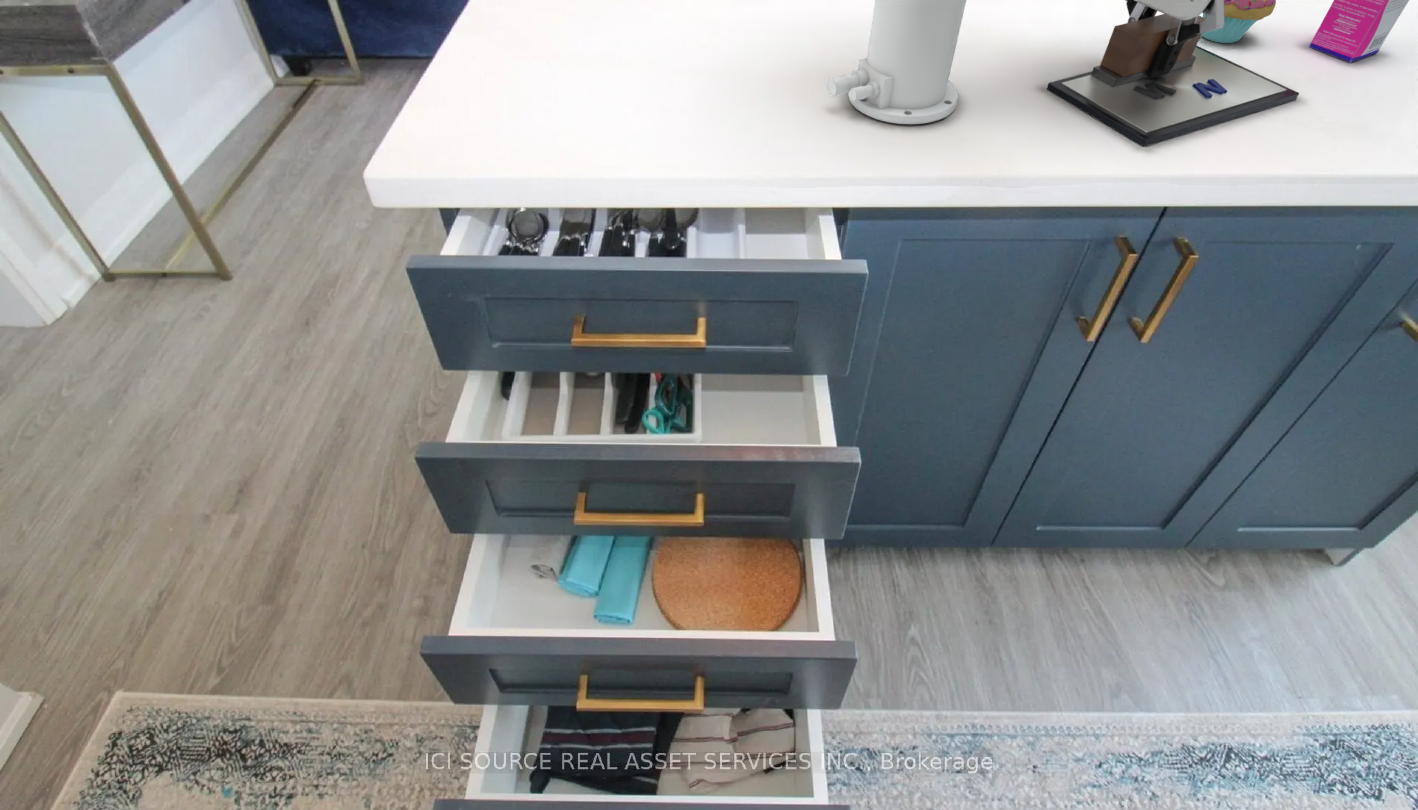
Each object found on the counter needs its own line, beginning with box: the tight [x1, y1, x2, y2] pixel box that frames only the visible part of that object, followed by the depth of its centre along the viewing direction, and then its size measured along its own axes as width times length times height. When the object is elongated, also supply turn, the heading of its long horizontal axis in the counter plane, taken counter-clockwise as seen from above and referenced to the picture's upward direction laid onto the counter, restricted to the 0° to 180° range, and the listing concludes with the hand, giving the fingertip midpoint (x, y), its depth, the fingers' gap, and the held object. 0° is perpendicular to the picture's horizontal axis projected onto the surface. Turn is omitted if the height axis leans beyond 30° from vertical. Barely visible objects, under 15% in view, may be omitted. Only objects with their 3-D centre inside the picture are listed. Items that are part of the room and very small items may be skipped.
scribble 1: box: [1133, 82, 1177, 99], centre depth 87 cm, size 4×3×1 cm
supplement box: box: [1309, 0, 1410, 64], centre depth 92 cm, size 6×6×12 cm
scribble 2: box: [1193, 79, 1227, 98], centre depth 87 cm, size 4×3×1 cm
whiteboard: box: [1046, 45, 1300, 147], centre depth 89 cm, size 24×15×1 cm, turn 115°
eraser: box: [1091, 13, 1205, 87], centre depth 89 cm, size 13×4×6 cm, turn 116°
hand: (1143, 66), depth 91 cm, fingers closed on eraser, 3 cm apart
